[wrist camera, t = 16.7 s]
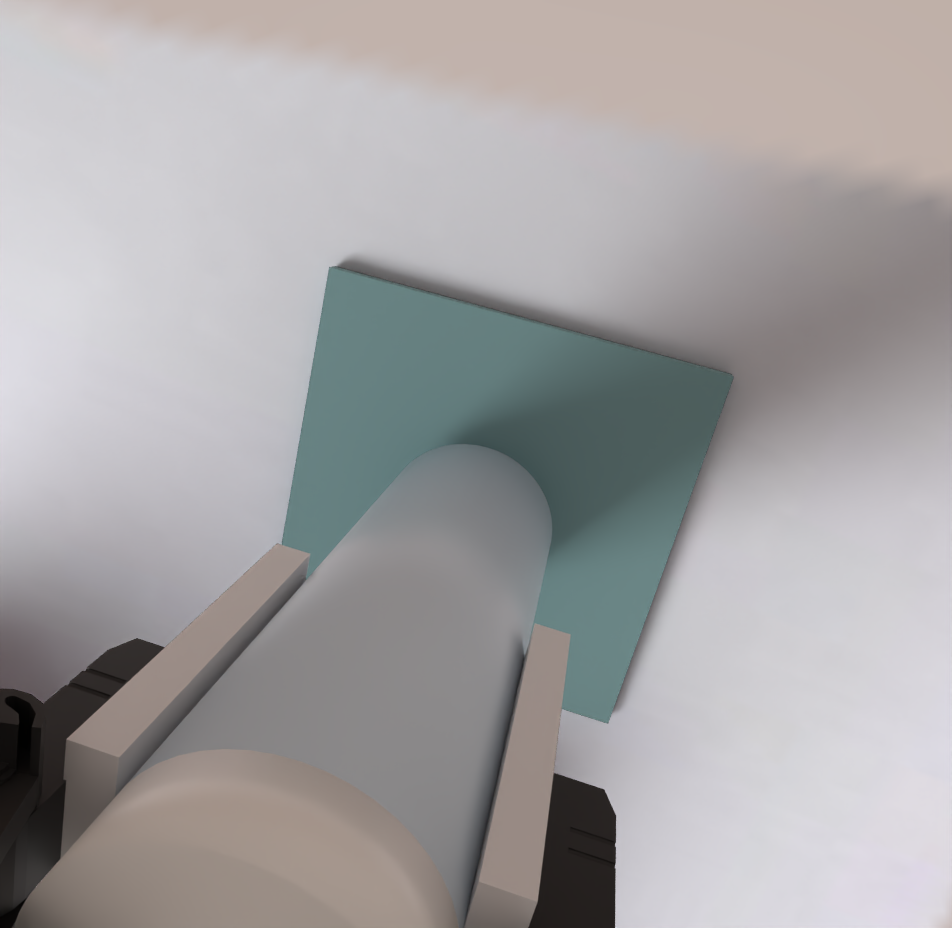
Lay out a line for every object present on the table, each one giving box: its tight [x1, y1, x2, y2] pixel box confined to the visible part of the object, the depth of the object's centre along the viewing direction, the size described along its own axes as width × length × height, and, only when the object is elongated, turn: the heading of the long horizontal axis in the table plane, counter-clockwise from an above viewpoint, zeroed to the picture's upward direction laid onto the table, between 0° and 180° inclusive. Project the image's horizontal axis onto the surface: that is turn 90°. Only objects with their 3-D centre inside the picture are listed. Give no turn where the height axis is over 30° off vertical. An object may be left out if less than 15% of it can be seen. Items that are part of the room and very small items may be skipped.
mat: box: [282, 266, 734, 723], centre depth 24 cm, size 12×12×1 cm
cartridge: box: [14, 444, 552, 928], centre depth 16 cm, size 5×5×15 cm
